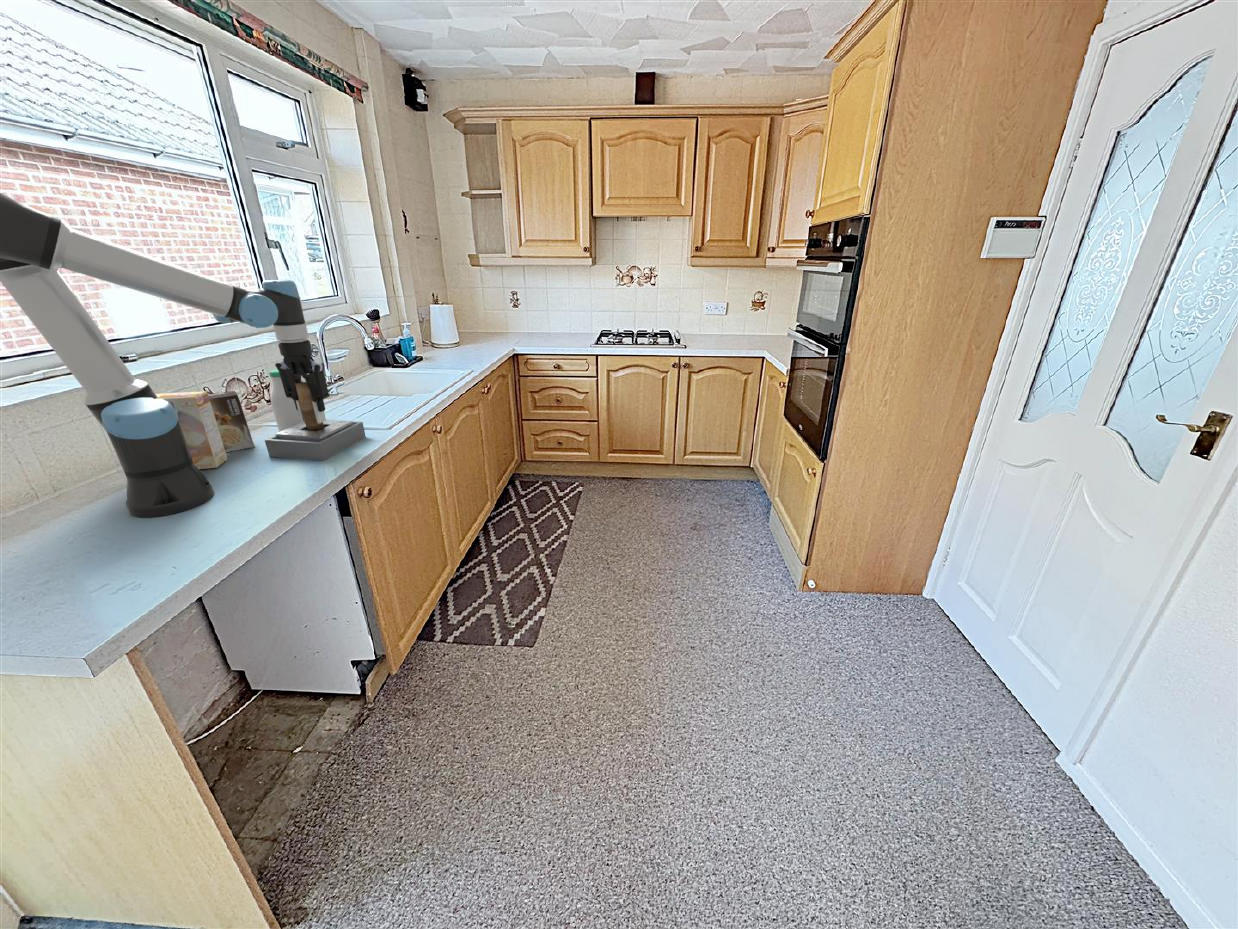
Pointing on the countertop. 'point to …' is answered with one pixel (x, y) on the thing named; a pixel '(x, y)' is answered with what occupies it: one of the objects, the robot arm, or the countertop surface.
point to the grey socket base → (316, 444)
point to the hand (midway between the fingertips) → (313, 421)
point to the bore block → (302, 434)
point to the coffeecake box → (198, 427)
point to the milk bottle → (282, 404)
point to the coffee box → (231, 421)
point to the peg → (307, 407)
